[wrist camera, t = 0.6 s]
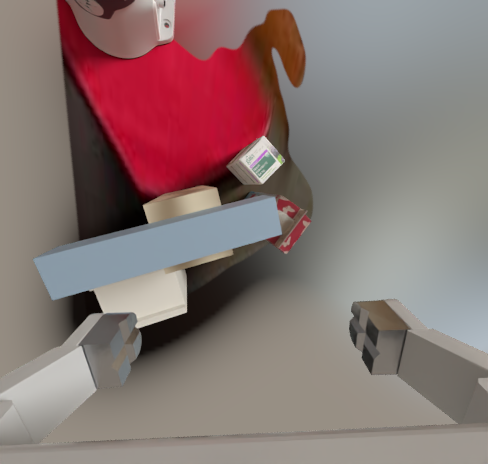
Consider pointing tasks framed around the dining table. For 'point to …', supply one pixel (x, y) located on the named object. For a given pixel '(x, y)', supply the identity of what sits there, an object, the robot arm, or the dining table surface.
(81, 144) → the dining table surface
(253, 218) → the bar
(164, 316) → the cream block
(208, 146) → the dining table surface
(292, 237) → the juice carton
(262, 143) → the syrup box
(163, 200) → the post
